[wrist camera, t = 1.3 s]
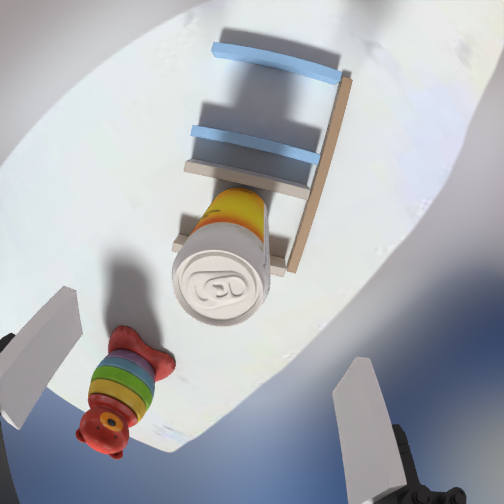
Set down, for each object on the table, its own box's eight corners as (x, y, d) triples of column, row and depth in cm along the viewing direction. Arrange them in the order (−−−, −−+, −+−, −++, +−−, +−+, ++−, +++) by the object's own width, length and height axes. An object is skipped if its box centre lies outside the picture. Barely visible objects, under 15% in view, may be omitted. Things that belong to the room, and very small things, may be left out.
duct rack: (178, 242, 31) (171, 251, 29) (217, 48, 23) (213, 42, 20) (294, 268, 32) (296, 280, 30) (349, 81, 23) (357, 77, 21)
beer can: (204, 192, 29) (152, 252, 15) (262, 181, 28) (260, 233, 15) (217, 245, 31) (184, 335, 18) (272, 236, 31) (277, 325, 17)
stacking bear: (181, 362, 40) (151, 464, 23) (151, 386, 43) (121, 472, 27) (122, 320, 37) (66, 416, 21) (99, 350, 40) (53, 432, 24)
